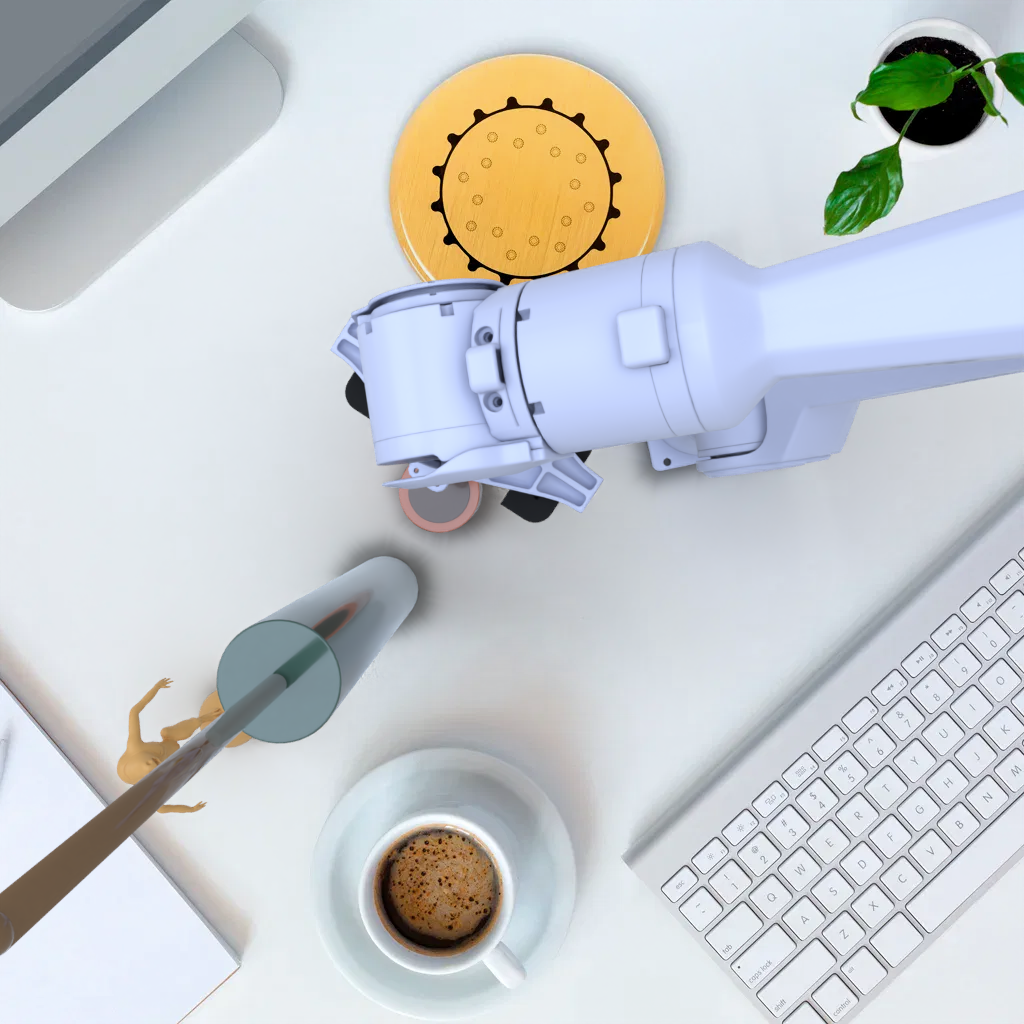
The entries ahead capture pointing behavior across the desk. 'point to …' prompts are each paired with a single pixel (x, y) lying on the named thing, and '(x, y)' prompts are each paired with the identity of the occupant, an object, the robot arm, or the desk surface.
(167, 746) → the figurine
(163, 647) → the desk surface
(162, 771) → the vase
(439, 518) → the pot
